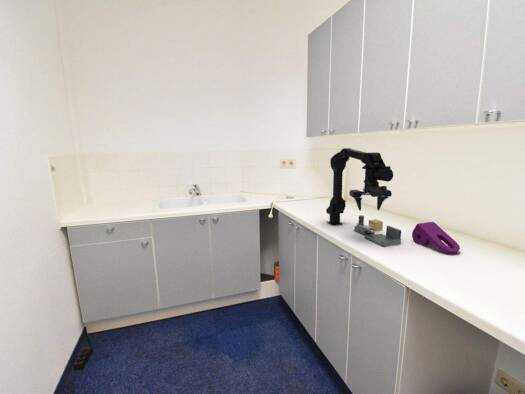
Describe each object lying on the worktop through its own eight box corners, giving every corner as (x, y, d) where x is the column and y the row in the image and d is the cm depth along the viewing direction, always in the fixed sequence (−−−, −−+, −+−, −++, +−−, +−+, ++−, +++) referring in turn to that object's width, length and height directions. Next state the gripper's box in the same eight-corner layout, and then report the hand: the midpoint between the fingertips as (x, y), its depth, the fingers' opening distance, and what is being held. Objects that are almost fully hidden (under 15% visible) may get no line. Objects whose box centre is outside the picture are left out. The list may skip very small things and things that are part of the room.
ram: (356, 227, 145) (356, 215, 144) (360, 227, 146) (361, 214, 144) (371, 234, 134) (372, 221, 132) (375, 234, 134) (376, 220, 133)
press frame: (350, 231, 144) (350, 220, 143) (368, 228, 147) (368, 218, 146) (382, 247, 121) (383, 234, 120) (403, 243, 125) (404, 231, 124)
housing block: (368, 228, 148) (368, 220, 147) (375, 227, 149) (376, 219, 148) (374, 231, 143) (375, 222, 142) (382, 230, 144) (382, 221, 143)
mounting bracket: (454, 263, 117) (425, 234, 131) (465, 250, 112) (433, 221, 126) (437, 266, 115) (409, 236, 129) (447, 252, 110) (417, 223, 124)
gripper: (358, 181, 120) (356, 215, 124) (399, 180, 121) (396, 214, 124) (349, 178, 131) (348, 209, 134) (386, 177, 132) (384, 208, 135)
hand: (369, 210), depth 132 cm, fingers open, 9 cm apart
